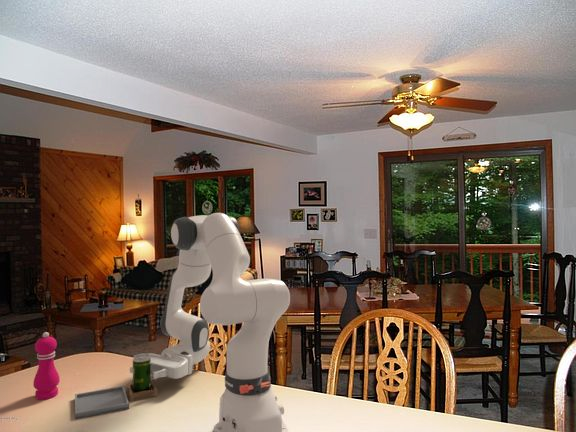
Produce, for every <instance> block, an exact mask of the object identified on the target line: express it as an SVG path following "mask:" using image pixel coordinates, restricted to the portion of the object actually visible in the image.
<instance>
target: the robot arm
mask: <svg viewBox="0 0 576 432" xmlns="http://www.w3.org/2000/svg"><path fill="white" fill-rule="evenodd" d="M170 236H171V237H170V238H171V241H172V244H173V245H174V247H175V248H176V249H178V250H179V255H178V265H177V269H176V270H174V271H173V272H172V274H171V276H170V280H169V283H168V288H167V293H166V299H165V305H164V311H163V314H162V316H161V319H160V322H159V323H160V330H161V333H162V334H163V335H164V336H167V337H171V338H174V339H176V340H179V342H178V343H177V344H175V345H172V346H169V347H167V348H165V349H163V350H162V351H161V354H157V353H149V352H148V353H147V354H149V355H150V358H151V379H153V380H157V379H159V378H165V377H166V378H170V379H173V380H177V379H181V378H183V377H186V376H187V375H191V374H193V366H194V365H196V364H199V362H201V361H203V360H204V359H206V357H208V354H209V353H210V350H211V343H210V341H209V335H210V329H209V324H210V325H213V326H214V325H217V326H231V325H235V324H242V326H241V327H240V329H239V331H238V332H237V333H236V334H234V335H233V336H232V337H231V338H230V339H229V340H228V342H227V344H226V371H225V373H224V387H225V389H224V391H223V393H222V394H221V396H220V398H219V411H218V412H219V413H218V422H217V423H215V424H214V425H213V432H290V431H289V429H288V427H287V426H286V424H285V421H284V419H283V417H282V415H284V414H285V408H284V405H283V404H282V405H281V404H280V405H278V402H277V401H278V396H277V395H275V394H274V393H273V390H272V383H271V376H270V371H269V369H268V358H269V357H268V354H269V343H270V342H269V341H270V338H271V335H272V332H273V329H274V328H275V326H276V323H277V322H278V320H279V319H280V318H281V316H282V315H284V313H286V311H287V310H288V308H289V306H290V303H291V294H290V290H289V288H288V286H287V285H286V283H285V282H284V281H283V280H281V279H276V278H267V277H266V278H258V279H248V280H245V279H243V278H241V276H242V275H243V274H244V273H245V272H246V271H248V268H249V267H250V263H251V255H250V254H249V251H248V249H247V247H246V245H245V243H244V240H243V238H242V236H241V233H240V226H239V223H238V220H237V219H236V218H235V217H233V216H230V215H227V214H225V213H223V212H213V213H211V214H209V215H206V214H204V215H194V216H193V215H192V216H189V217H187V216H181V217H179V218H177V219H175V220H174V221H173V222H172V225H171V228H170ZM211 272H212V279H211V282H210V284H209V285H208V286H207V287H206V288H205V289H204V291H203V292H202V294H201V297H200V300H199V311H200V314H201V316H202V317H199V316H196V315H194V314H191V313H188V312H186V311H184V309H183V308H182V302H183V297H184V293H185V289H186V288H192V287H197V286H199V285H202V284H204V283H205V282H206V281H207V280H208V279H209V278H210V276H211ZM129 373H131V374H133V366H131V367H129Z"/></svg>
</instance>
